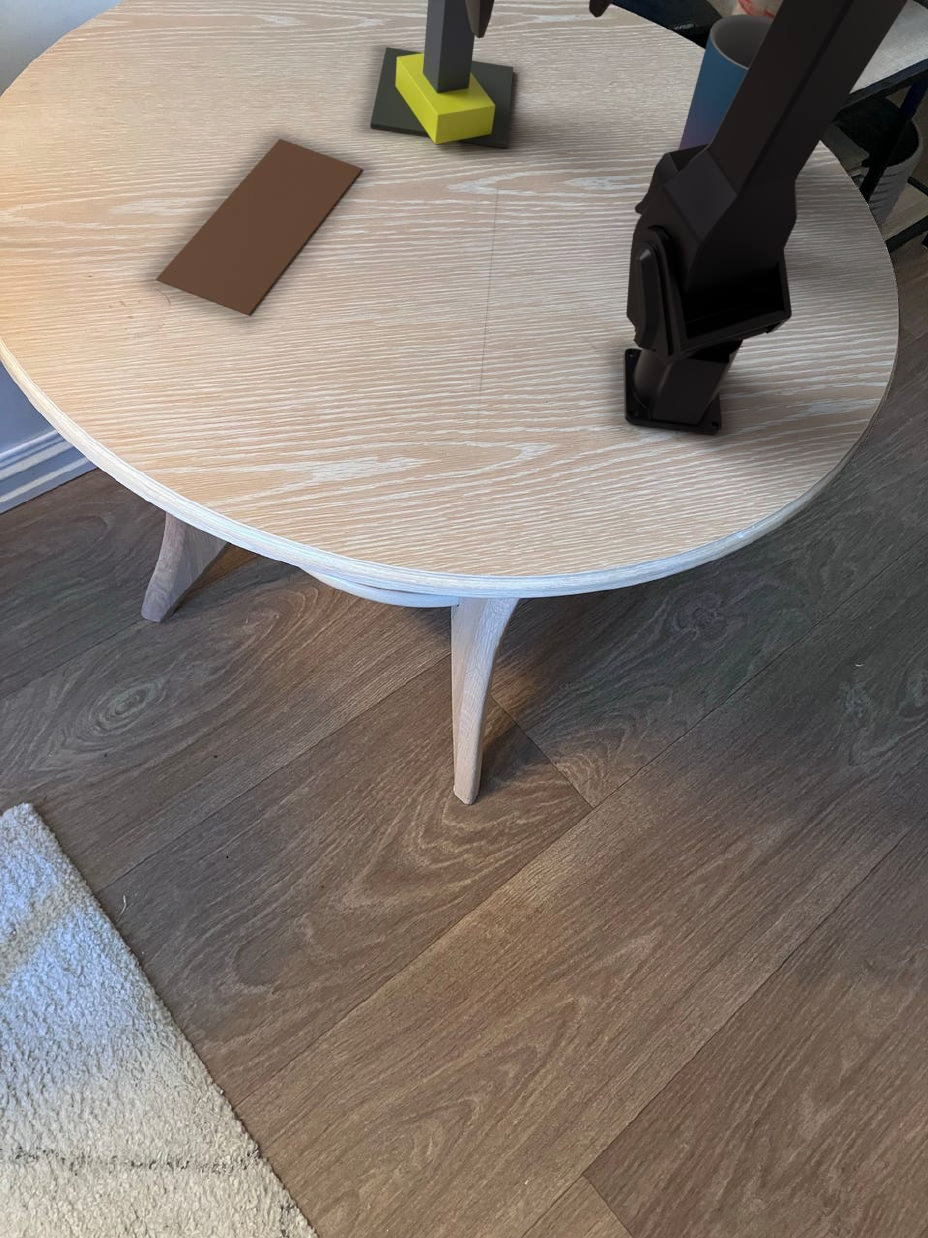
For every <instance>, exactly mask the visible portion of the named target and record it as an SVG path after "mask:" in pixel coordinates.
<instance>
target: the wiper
mask: <svg viewBox="0 0 928 1238" xmlns="http://www.w3.org/2000/svg"><path fill="white" fill-rule="evenodd" d="M425 23H426V24H425V36H424V37H425V39H424V51H423V52H420V53H421V54H414V55H407V56H401V57H397V67H396V88H397V89H398V90H399V92H400V93H401V95H402V96H403V98H404V99H405V101H406V102H407V104H408V105H409V107H410V108H411V109H412V111H413V112H414V114H415V115H416V117H417V118H418V120H419V121H420V123H421V124H422V126H423V127H424V128H425V130H426V131H427V133H428V134H429V136H430V137H429V138H430V139H431V140H432V141H433V143H434V144H435V145H438V144H444V143H451V142H454V141H455V140H461V139H466V138H472V137H477V136H483V135H488V134H491V132H492V125H493V118H494V111H495V104H494V103H493V102H492V100H491V99H490V98H489V96H488V95H487V94H486V92H485V91H484V90H483V88H482V87H481V86H480V84H479V83H478V82H477V80H476V79H475V78H474V76H473V75H472V74H471V64H472V61H473V55H474V47H475V37H476V36H475V34H474V33H473V32H472V30H471V26H470V22H469V17H468V12H467V7H466V2H465V0H427V12H426V22H425ZM455 142H456V141H455Z"/></svg>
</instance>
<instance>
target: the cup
mask: <svg viewBox="0 0 928 1238" xmlns="http://www.w3.org/2000/svg"><path fill="white" fill-rule="evenodd" d="M772 21H773V19H771V18H768V17H763V16H758V15H750V14H739V15H732V14H730V15H728V16H724V17H722V18H721V19H718V20H717V21H716V22H715V23H714V24H713V25H712V27H711V28H710V31H709V34H708V38H707V41H706V46H705V49H704V52H703V57H702V60H701V64H700V67H699V71H698V75H697V80H696V83H695V87H694V90H693V94H692V97H691V101H690V106H689V109H688V113H687V116H686V119H685V124H684V128H683V132H682V134H681V139H680V143H679V147H678V150H680V149H685V148H689V147H694V146H698V145H702V144H707V143H710V142H711V141H712V139H713V138H714V136H715V134H716V132H717V130H718V128H719V126H720V124H721V122H722V120H723V118H724V116H725V114H726V112H727V110H728V108H729V106H730V104H731V102H732V100H733V98H734V96H735V94H736V92H737V90H738V88H739V86H740V84H741V82H742V80H743V78H744V76H745V74H746V72H747V70H748V68H749V66H750V64H751V62H752V60H753V58H754V56H755V54H756V52H757V50H758V48H759V46H760V44H761V42H762V40H763V38H764V36H765V34H766V32H767V31H768V29H769V27H770V25H771V23H772Z"/></svg>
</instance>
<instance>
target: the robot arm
mask: <svg viewBox="0 0 928 1238" xmlns="http://www.w3.org/2000/svg"><path fill="white" fill-rule="evenodd" d="M908 1H909V0H783V1H782V3H781V5H780V7H779V9H778V11H777V13H776V15H775V17H774V19H773V21H772V23H771V25H770V27H769V29H768V31H767V32H766V34H765V36H764V38H763V40H762V42H761V44H760V46H759V48H758V50H757V52H756V54H755V56H754V58H753V60H752V62H751V64H750V66H749V68H748V70H747V72H746V74H745V76H744V78H743V80H742V82H741V84H740V86H739V88H738V90H737V92H736V94H735V96H734V98H733V100H732V102H731V104H730V106H729V108H728V110H727V112H726V114H725V116H724V118H723V120H722V122H721V124H720V126H719V128H718V130H717V132H716V134H715V136H714V138H713V139H712V141H711V142H710V143H707V144H702V145H698V146H694V147H689V148H685V149H680V150H679V149H677V150H676V149H675V150H672V151H668V152H667V151H666V152H665V153H664V154H663V155H662V157H660V160H658V162H657V164H656V165H655V167H654V169H653V173H652V177H651V179H650V180H651V181H650V183H649V186H648V188H647V192H645V195H644V197H643V198H642V200H640V201H639V202H638V203H637V204H636V205H635V206H634V212H635V213H636V214H638V215H640V216H639V218H638V220H637V221H636V225H635V227H634V231H633V235H632V240H631V247H630V255H629V256H630V257H629V271H628V283H627V284H628V287H627V297H626V299H627V301H626V312H625V313H626V314H625V315H626V318H627V319H628V321H629V322H630V323H631V324H632V325H633V327H634V333H635V335H634V338H633V340H632V341H633V343H635V344H636V346H637V347H638V348H632V347H631V348H630V347H628V348H626V349H625V350H624V352H623V357H622V358H623V360H622V361H623V362H622V363H623V365H622V366H623V404H624V405H623V407H624V408H623V411H624V412H623V413H624V420H626V422H628V423H630V424H637V425H643V426H650V427H657V428H667V429H672V430H680V431H688V432H693V433H694V432H696V433H701V434H710V435H717V434H720V432H721V430H722V428H723V421H722V410H721V409H722V407H721V398H720V389H721V387H722V385H723V383H724V381H725V379H726V377H727V376H728V373H729V371H730V369H731V367H732V365H733V363H734V361H735V359H736V357H737V355H738V353H739V351H740V349H741V347H742V344H743V343H744V340H747V339H750V338H754V337H757V336H760V335H763V334H767V335H768V334H771V333H774V332H776V331H778V330H779V328H781V327H782V326H783V325H784V324H785V323H787V322H788V321H789V320H790V319H791V318H792V315H793V312H792V311H793V310H792V303H791V294H790V286H789V279H788V272H787V271H788V270H787V264H786V256H785V247H786V245H787V243H788V240H789V239H790V236H791V234H792V232H793V230H794V228H795V226H796V224H797V220H798V200H797V197H798V196H797V180H798V177H799V175H800V173H801V171H802V170H803V169H804V167H805V166H806V164H807V162H808V160H809V159H810V157H811V156H812V154H813V153H814V151H815V149H816V148H817V146H818V144H819V143H820V141H821V140H822V138H823V137H824V135H825V133H826V132H827V130H828V129H829V127H830V125H832V122H833V121H834V119H835V117H836V116H837V115H838V113H839V111H840V109H841V108H842V106H843V104H844V103H845V101H846V100H847V98H848V96H849V95H850V93H851V92H852V90H853V89H854V87H855V86H856V84H857V82H858V81H859V79H860V78H861V76H862V74H863V73H864V71H865V70H866V68H867V66H868V65H869V63H870V61H871V60H872V58H873V57H874V55H875V54H876V52H877V51H878V49H879V47H880V46H881V44H882V42H883V41H884V39H885V38H886V36H887V34H888V32H889V31H890V30H891V28H892V27H893V26H894V24H895V22H896V21H897V19H898V17H899V16H900V14H901V13H902V10H903V9H904V7H905V6H906V4H907V3H908ZM465 2H466V7H467V12H468V17H469V22H470V26H471V30H472V32H473V33H474V34H475V37H476V38H477V39H483V38H484V37H485V34H486V32H487V30H488V26H489V24H490V21H491V17H492V13H493V10H494V6H495V0H465ZM613 2H614V0H589V3H588V11H589V13H591V15H592V17H594V18H601V17H602V16H603V15H604V13H605V12H606V11H607V9H608V8H609V7H610V6H611V4H612V3H613Z"/></svg>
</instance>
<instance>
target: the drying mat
mask: <svg viewBox="0 0 928 1238" xmlns="http://www.w3.org/2000/svg"><path fill="white" fill-rule="evenodd" d="M421 53H422V52H420V51H413V50H407V49H401V48H394V47H388V46H386V47H385V51H384V56H383V60H382V66H381V69H380V75H379V79H378V84H377V90H376V95H375V100H374V104H373V108H372V109H373V111H372V114H371V119H370V122H369V123H370V126H369V127H370V129H376V130H382V131H389V132H395V133H401V134H409V135H415V136H421V137H429V138H431V137H430V136H429V134H428V133H427V131H426V130H425V128H424V127H423V126H422V124H421V123H420V121H419V120H418V118H417V117H416V115H415V114H414V112H413V111H412V109H411V108H410V107H409V105H408V104H407V102H406V101H405V99H404V98H403V96H402V95H401V93H400V92H399V90H398V89H397V88H396V67H397V57H401V56H407V55H414V54H421ZM513 73H514V66H508V65H502V64H496V63H489V62H483V61H477V60H472V64H471V74H472V75H473V76H474V78H475V79H476V80H477V82H478V83H479V84H480V86H481V87H482V88H483V90H484V91H485V92H486V94H487V95H488V96H489V98H490V99H491V100H492V102H493V103H494V104H495V111H494V118H493V125H492V132H491V134H488V135H483V136H477V137H472V138H466V139H461V140H455V142H460V143H468V144H475V145H481V146H486V147H487V146H488V147H494V148H501V149H507V147H508V138H509V124H510V113H511V112H510V111H511V99H512V88H513V76H514V75H513Z"/></svg>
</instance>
